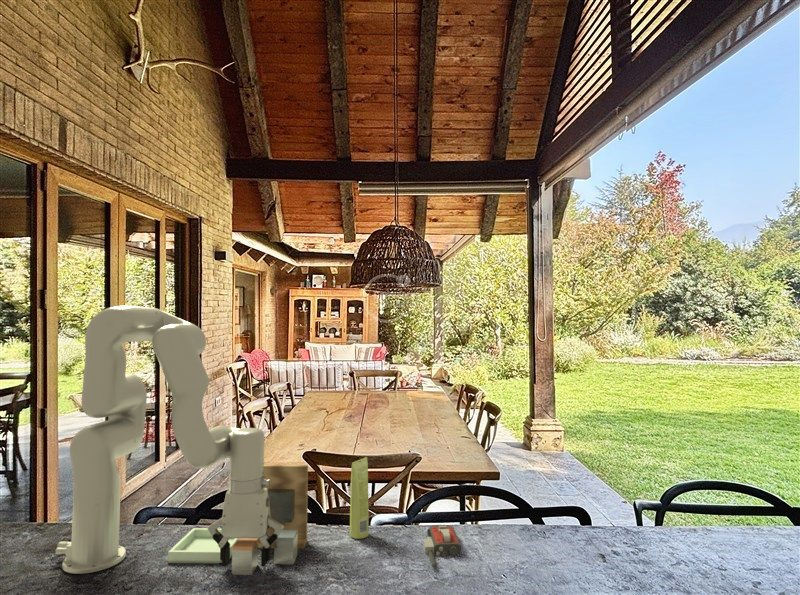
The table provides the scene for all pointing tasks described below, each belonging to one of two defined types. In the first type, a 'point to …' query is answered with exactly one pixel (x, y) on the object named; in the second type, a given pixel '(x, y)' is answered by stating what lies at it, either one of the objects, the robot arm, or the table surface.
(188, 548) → the tray
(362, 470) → the tube
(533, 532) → the table surface
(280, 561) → the block
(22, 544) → the table surface
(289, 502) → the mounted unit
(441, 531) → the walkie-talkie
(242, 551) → the block
